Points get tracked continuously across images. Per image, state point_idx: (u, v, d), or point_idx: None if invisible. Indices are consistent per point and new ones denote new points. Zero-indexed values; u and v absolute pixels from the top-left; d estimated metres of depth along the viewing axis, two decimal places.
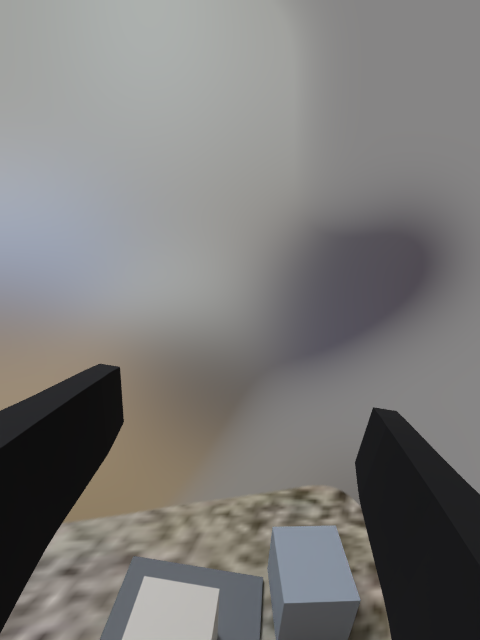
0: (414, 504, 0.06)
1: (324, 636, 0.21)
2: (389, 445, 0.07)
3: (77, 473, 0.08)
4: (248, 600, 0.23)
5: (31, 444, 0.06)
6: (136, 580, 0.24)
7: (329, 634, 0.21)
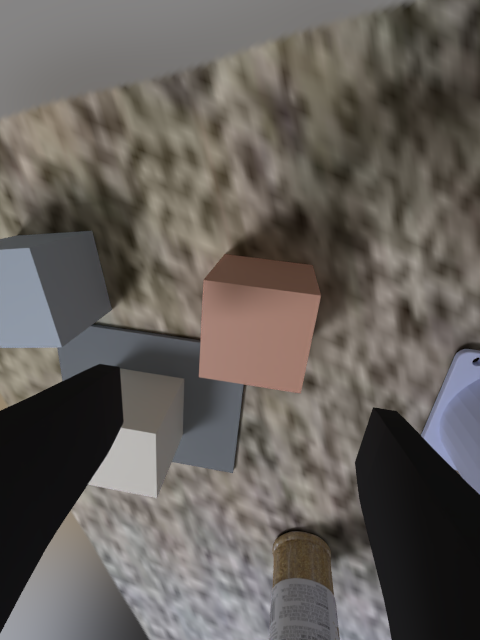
0: (414, 504, 0.06)
1: (90, 265, 0.17)
2: (389, 445, 0.07)
3: (78, 473, 0.08)
4: (79, 337, 0.20)
5: (31, 444, 0.06)
6: None
7: (86, 259, 0.17)
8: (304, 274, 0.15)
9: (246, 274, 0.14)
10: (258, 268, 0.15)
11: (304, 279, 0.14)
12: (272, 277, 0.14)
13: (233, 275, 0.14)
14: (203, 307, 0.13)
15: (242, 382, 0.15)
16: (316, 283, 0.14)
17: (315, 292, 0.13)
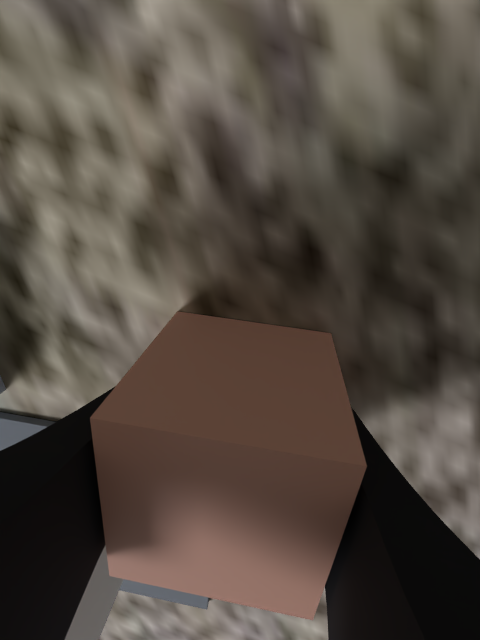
0: None
1: None
2: None
3: None
4: None
5: (91, 455, 0.06)
6: None
7: None
8: (319, 368, 0.08)
9: (200, 382, 0.07)
10: (230, 354, 0.08)
11: (320, 388, 0.07)
12: (253, 386, 0.07)
13: (171, 386, 0.07)
14: (98, 468, 0.06)
15: (195, 591, 0.07)
16: (347, 404, 0.07)
17: (351, 449, 0.05)
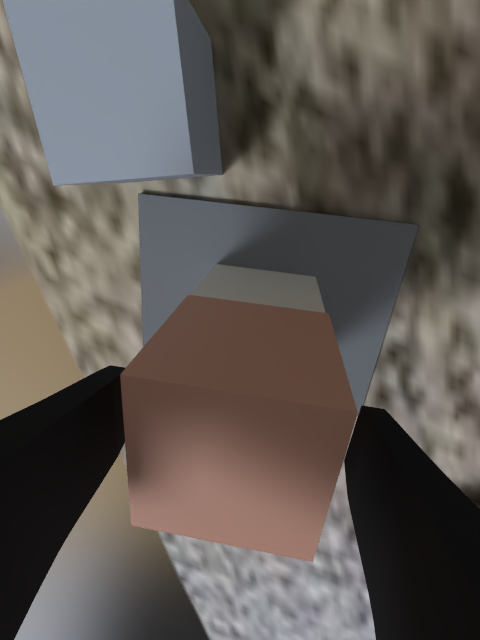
0: (397, 501, 0.06)
1: (210, 86, 0.12)
2: (375, 443, 0.07)
3: (90, 475, 0.08)
4: (173, 219, 0.15)
5: (45, 446, 0.06)
6: None
7: (208, 74, 0.12)
8: (317, 340, 0.09)
9: (212, 349, 0.08)
10: (238, 329, 0.09)
11: (318, 355, 0.08)
12: (259, 353, 0.08)
13: (187, 352, 0.07)
14: (125, 421, 0.07)
15: (208, 538, 0.08)
16: (342, 367, 0.07)
17: (344, 400, 0.06)
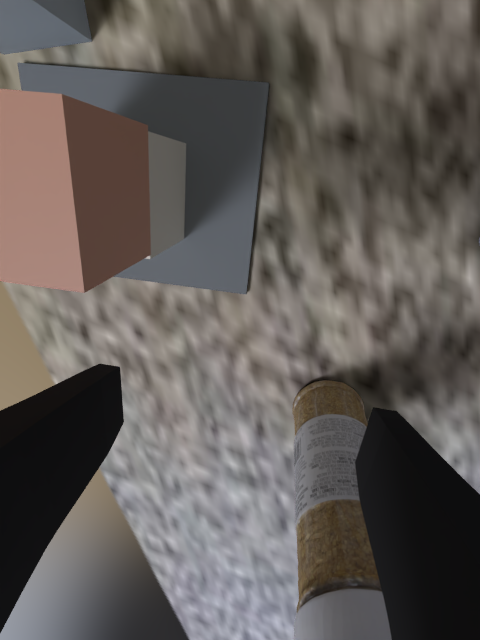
0: (414, 504, 0.06)
1: None
2: (389, 445, 0.07)
3: (77, 473, 0.08)
4: (52, 89, 0.16)
5: (31, 444, 0.06)
6: None
7: None
8: None
9: None
10: None
11: None
12: None
13: None
14: None
15: None
16: (96, 107, 0.09)
17: None
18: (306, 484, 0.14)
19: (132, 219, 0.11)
